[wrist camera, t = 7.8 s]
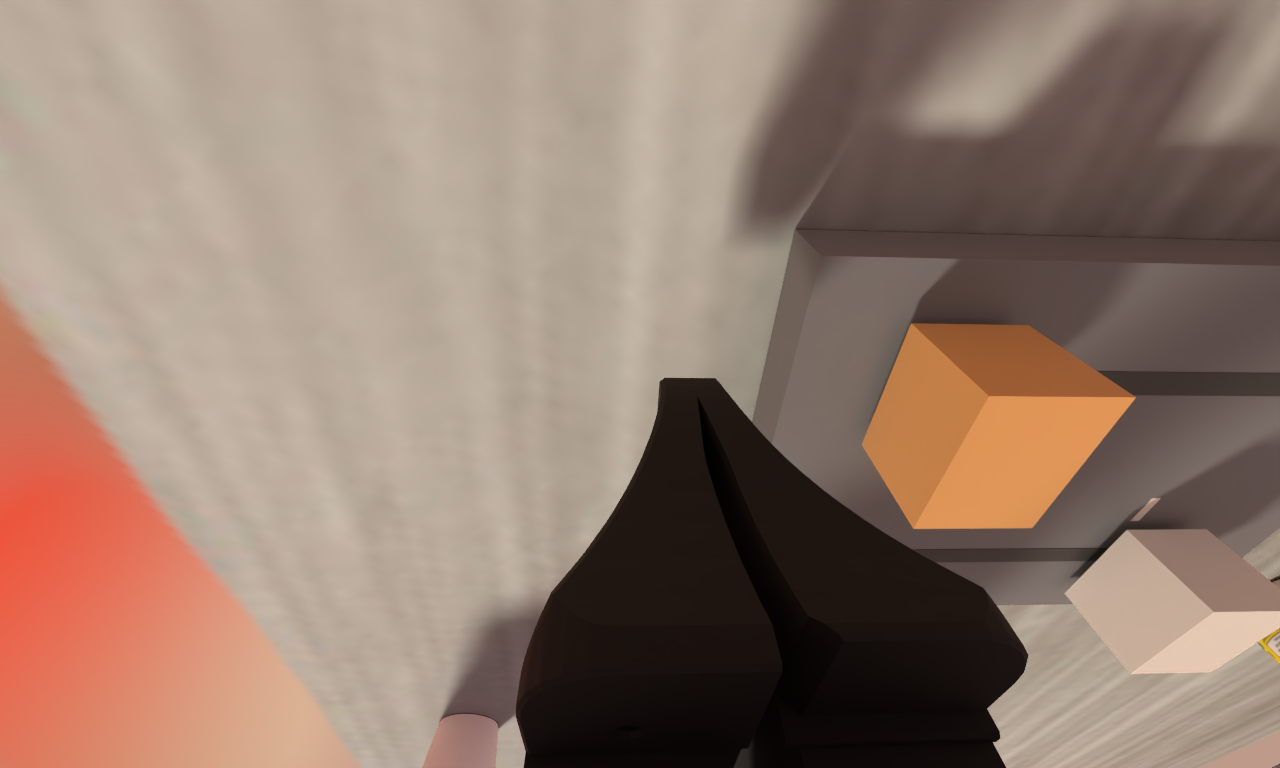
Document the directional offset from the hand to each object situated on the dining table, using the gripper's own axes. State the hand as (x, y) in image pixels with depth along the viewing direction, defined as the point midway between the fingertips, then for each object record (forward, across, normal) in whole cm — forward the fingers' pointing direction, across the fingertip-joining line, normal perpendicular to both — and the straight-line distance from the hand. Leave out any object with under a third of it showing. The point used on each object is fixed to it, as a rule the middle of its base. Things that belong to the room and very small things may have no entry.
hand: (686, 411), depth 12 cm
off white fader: (+1, -18, +8) cm, 20 cm away
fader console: (+3, -13, +4) cm, 14 cm away
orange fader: (+1, -7, 0) cm, 7 cm away
